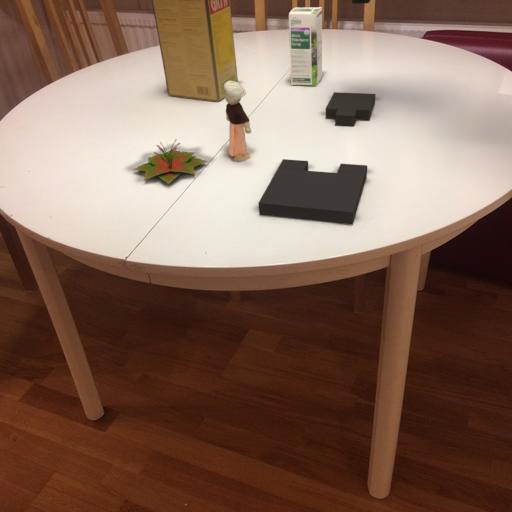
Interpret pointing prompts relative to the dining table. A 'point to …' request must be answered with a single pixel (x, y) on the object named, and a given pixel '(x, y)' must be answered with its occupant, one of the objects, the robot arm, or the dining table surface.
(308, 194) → the base pad
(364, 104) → the small pad
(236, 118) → the grandmother figurine
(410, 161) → the dining table surface
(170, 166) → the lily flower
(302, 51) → the syrup box
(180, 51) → the food packaging
